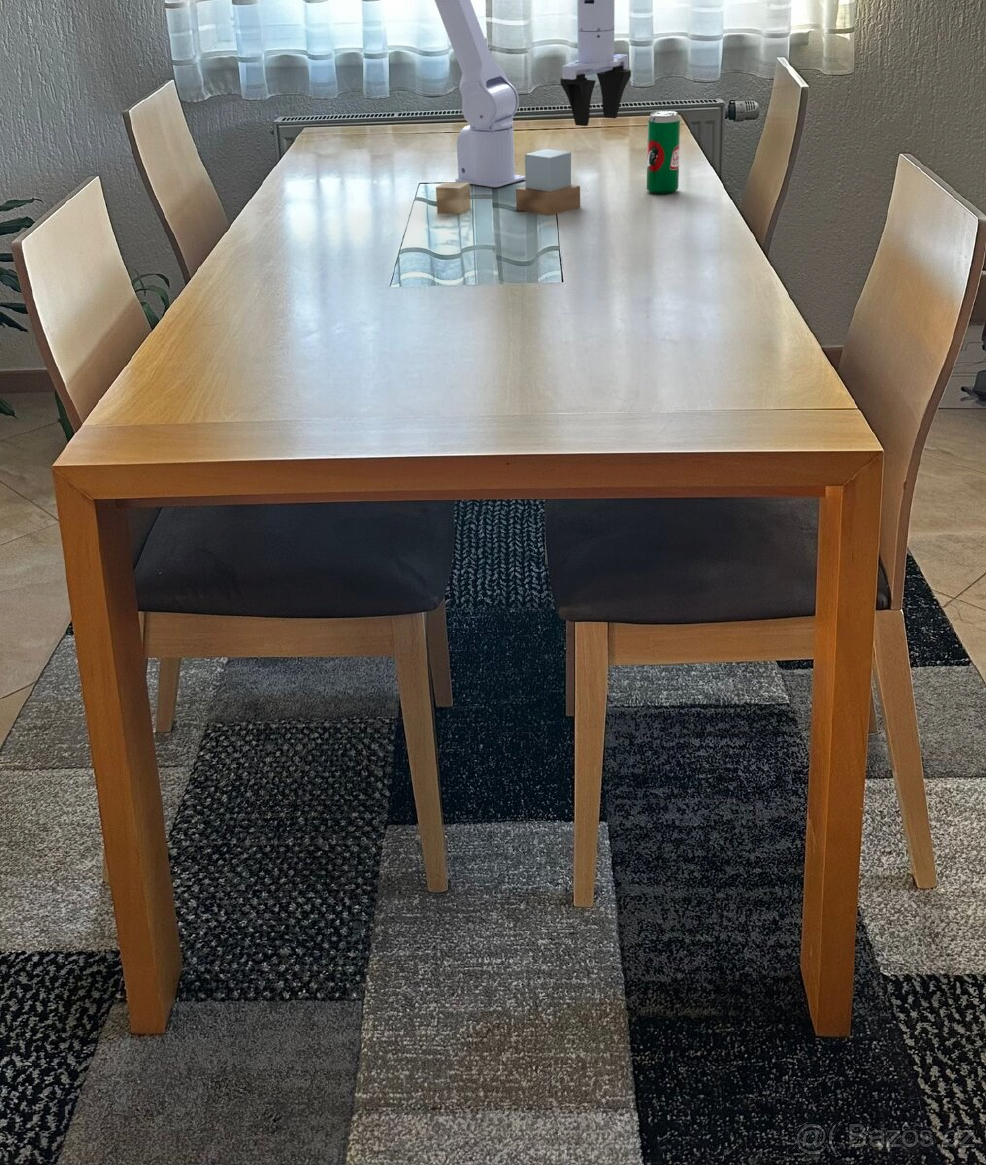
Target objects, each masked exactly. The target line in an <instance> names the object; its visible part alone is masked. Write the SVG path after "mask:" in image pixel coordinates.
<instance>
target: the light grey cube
mask: <svg viewBox="0 0 986 1165" xmlns="http://www.w3.org/2000/svg"><path fill="white" fill-rule="evenodd" d="M524 176H525V179H524V182H525V184H524V185H525V188H530V189H536V190H542V191H548V192H552V191H555V190H559V189H562V188H565V187H569V186H571V184H572V152H571V151H563V150H558V149H557V150H556V149H549V148H543V149H540V150H537V151H531V152H528V153H525V154H524Z"/></svg>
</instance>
